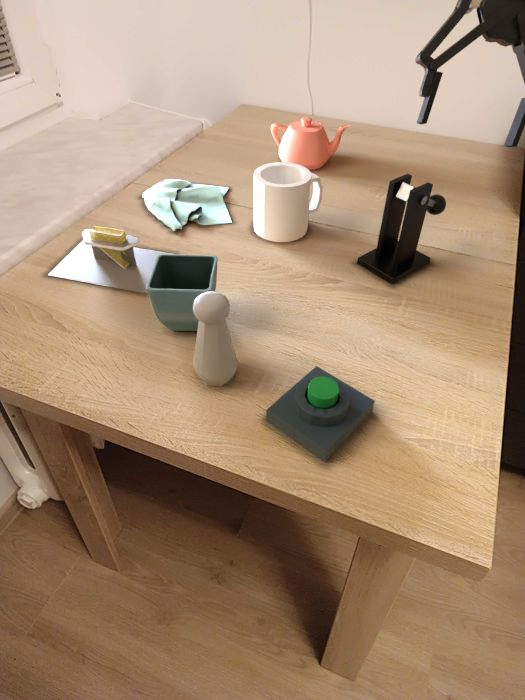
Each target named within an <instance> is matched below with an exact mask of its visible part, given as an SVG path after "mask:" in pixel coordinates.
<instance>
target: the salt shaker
mask: <svg viewBox="0 0 525 700" xmlns="http://www.w3.org/2000/svg"><path fill="white" fill-rule="evenodd" d="M230 310H231V306H230V301H229V299H228V297H227V296H226V295H225V294H223V293H221V292H219V291H216V290H215V291H209V292H205V293H202V294H200V295H199V296H198V297H197V298H196V299H195V300H194V304H193V311H194V314H195V316H196V318H197V319H198V320H199V322H198V330H197V331H196V339H195V347H194V353H193V360H192V361H193V362H192V367H193V368H194V371H195V373H196V375H197V376H198V377H200V378H201V379H202V381H204V383H205V384H206V385H207V386H212V387H213V386H214V387H223V386H224V385H225V384H227V383H228V382H230V381H231V380H232V379H233V378H234V375H235V373H236V371H237V368H238V363H239V360H238V357H237V354H236V350H235V346H234V344H233V340H232V337H231V334H230V330H229V327H228V322H227V320H226V319H227V318H228V317H229V315H230Z"/></svg>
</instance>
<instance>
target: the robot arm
mask: <svg viewBox="0 0 525 700" xmlns="http://www.w3.org/2000/svg"><path fill="white" fill-rule="evenodd" d="M474 9H475V10H476V15H477V19H478V24H477V25H476V26H475V27H473V28H472V29H471V30H470V31H469V32H467V33H466V34H465V35H463V36H462V37H461V38H459V39H458V40H457V41H456V42H454V43H453V44H452V45H451V46H449V47H448V48H446V50H444V51H443V52H441V53H440V54H439V55H438V56H436V57H435V58H434V57H432V55H433V54H434V53H435V51H436V50H437V49H438V48H439V47H440V46H441V44H442V43H443V42H444V41H445V39H446V38H447V37H448V36H449V34H450V33H451V32H452V31H453V30H454V28H455V27H457V25H458V24H459V23H460V21H461V20H462V19H463V18H464V16H465V15H469V14H470V13H471V12H473V10H474ZM481 36H482V37H483V39H484V41H485V42H487V43H496V44H498V45H499V46H501V47H509V46H511V48H512V52H513V54H515V56H516V60H517V63H518V67H519V71H520V73H521V77H522V80H523V83H524V85H525V0H457V2H456V4H455V6H454V9H453V11H452V13H451V14H450V15H449V16H448V18H447V19H446V20H445V21H444V22H443V23H442V25H441V26H440V27H439V29H438V30H437V31H436V32H435V33H434V35H432V37H430V40H429V41H428V42H426V44H425V45H424V47H423V48H422V49H421V50H420V51H419V53H418V54H417V56H416V57H415V59H414V60H415V64H417V65H420V66H421V68H423V70H424V75H423V79H422V82H421V85H420V87H419V91H418V96H419V97H421V98H423V101H422V104H421V106H420V107H421V108H420V111H419V113H418V117H417V119H416V124H417V125H425V124H427V123H428V121H429V117H430V114H431V111H432V108H433V105H434V102H435V98H436V96H437V93H438V89H439V86H440V83H441V80H442V78H443V77H442V76H443V74H444V72H441V71H439V70H438V69H440V68H441V67H443V66H444V65H445V64H446V63H447V62H448V61H450V60H451V59H452V58H454V57H455V56H457V55H458V54H460V52H461V51H463V50H465V48H467V47H469V45H471V44H472V43H473V42H474V41H476V40H477V39H478V38H481ZM524 129H525V97H522V98H521V99H520V102H519V104H518V107H517V110H516V113H515V115H514V118H513V121H512V123H511V126H510V128H509V131H508V134H507V136H506V138H505V142H504V144H503V147H507V148H517V147H518V144H519V142H520V140H521V137H522V134H523V132H524Z"/></svg>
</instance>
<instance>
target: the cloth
mask: <svg viewBox="0 0 525 700" xmlns="http://www.w3.org/2000/svg"><path fill="white" fill-rule="evenodd" d="M229 189H230V187H226V186H220V185H219V186H218V185H211V184H210V185H208V184H201V183H192V182H191V181H190V180H189V181H188V180H184V179H180V178H179V179H175V178H167V179H165V180H163V181H160V182H158V183H156V184H154V185H152V186H150V187H149V188H148V189H146V190H145V191H144V192H143V193H142V195H141V198H144V204H145V206H146V208H147V210H148V211H149V212H150V213H151V215H153V216H154V217H155V218H156V219H157V220H158V221H160V222H161V223H162V224H163V225H165V226H166V227H168V228H169V229H170V230H172V231H173V232H176V231H177V230H183V227H184V226H185V225H187V223H188V220H189V221H190V222H194V223H195V224H197V225H200V226H215V225H225V224H226V225H227V224H232V223H233V221H232V218H231V215H230V213H229V211H228V207H227V206H226V203H225V200H224V196H225V195H226V194H227V192H228V191H229Z"/></svg>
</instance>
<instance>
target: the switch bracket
mask: <svg viewBox="0 0 525 700" xmlns="http://www.w3.org/2000/svg"><path fill="white" fill-rule="evenodd" d="M412 179H413V175H412V174H410V173H405V174H403V175H400V176H398V177H396V178H393V179H391V180H389V181H388V187H387V191H386V197H385V202H384V208H383V214H382V218H381V223H380V229H379V234H378V239H377V243H376V248H375V249H372V250H370V251H368V252H366V253H364V254H362V255H360V256H358V257H357V259H356V264H357V265H358V266H360V267H362V268H363V269H365V270H367V271H369V272H370V273H371V274H373V275H375V276H377V277H379V278H380V279H381V280H384V281H385V282H387V283H389V285H394V284H396V283H398V282H400V281H402V280H403V279H405V278H406V277H408V276H410V275H412V274H413V273H416V272H417V271H418V270H420V269H422V268H424V267H426V266H428V265H429V264H430V263H431V260H432V258H431V257H430V256H428V255H427V254H424V253H422V252H421V251H420V250H417V249H418V245H419V242H420V237H421V233H422V229H423V226H424V222H425V219H426V214H427V207H428V203H429V199H430V196H432V190H433V187H434V184H433V183H431V182H428V181H427V182H425V183H423V184H420V185H419V186H417V187H416V186H415V187H416V188H414V189H412V190H410V193H409V198H408V202H406V201H404V200H402V199H399V198H397V197H396V195H397V193H398V191H399V189H400V187H401V185H402V183H403V182H405V183H407V184H409V185H411V183H412Z"/></svg>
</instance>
